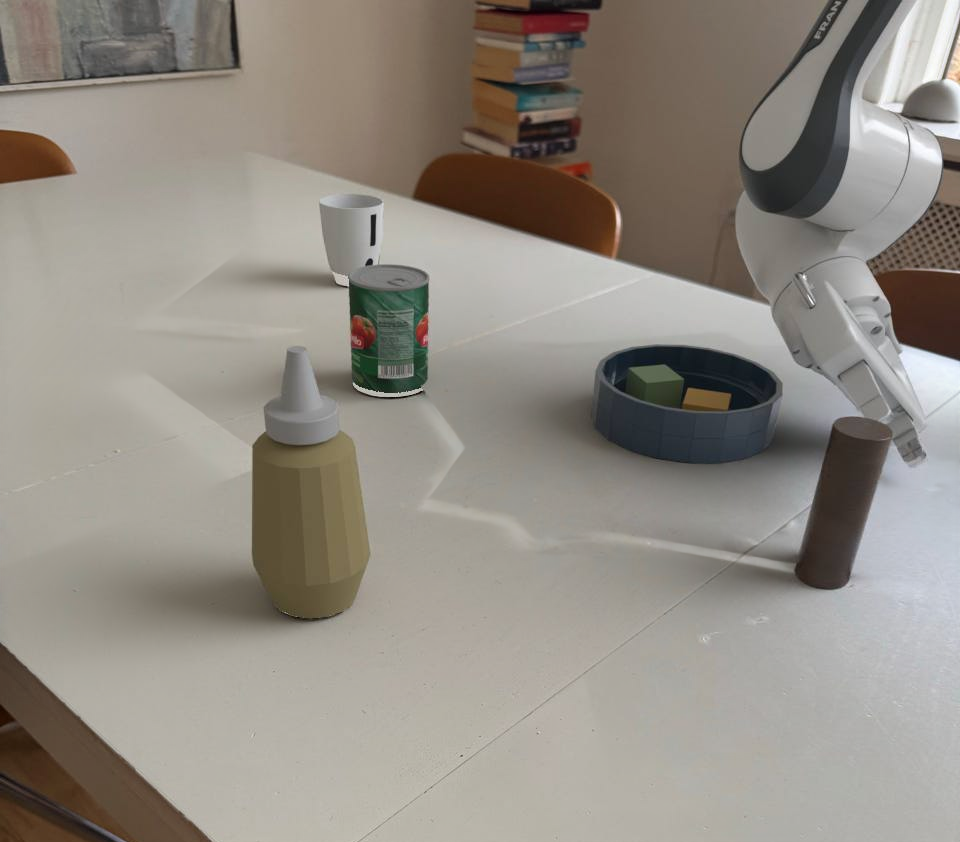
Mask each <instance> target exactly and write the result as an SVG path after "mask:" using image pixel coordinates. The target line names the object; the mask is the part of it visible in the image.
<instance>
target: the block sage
mask: <svg viewBox="0 0 960 842" xmlns="http://www.w3.org/2000/svg"><path fill="white" fill-rule="evenodd" d="M683 384H684V379H683V378H682V377H681V376H679V375H678V374H677V373H675V372H674V371H673V370H672V369H670V368H669V367H668V366H666V365H654V366H643V367H632V368H628V374H627V382H626V390H625V394H628V395H630V396H632V397H634V398H637V399H639V400H642V401H646V402H649V403H653V404H657V405H661V406H664V407H670V408H677V409H680V403H681V397H682V391H683Z"/></svg>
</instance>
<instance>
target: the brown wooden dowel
mask: <svg viewBox="0 0 960 842" xmlns="http://www.w3.org/2000/svg"><path fill="white" fill-rule="evenodd" d="M892 436H893V431H892V430H891V428H890V427H888V426H887V425H885V424H883V423H881V422H879V421H876V420H873V419H869V418H865V417H864V416H863V417H862V416H843V417H839V418H837V419H835V420H834V421H833V423H832V426H831V430H830V434H829V437H828V438H829V439H828V442H827V445H826V449H825V452H824V456H823V460H822V464H821V468H820V472H819V476H818V479H817V482H816V483H817V484H816V487H815V491H814V494H813V499H812V502H811V506H810V510H809V513H808V517H807V521H806V525H805V529H804V532H803V536H802V540H801V543H800V548H799V551H798V555H797V558H796V563H795V566H794V574H795V576H796V577H797V578H798V579H800V581H802V582H803V583H805V584H807V585H809V586H812V587H815V588H817V589H823V590H836V589H841V588H843V587H845V586H847V584H848V583H849V582H850V578H851V575H852V572H853V567H854V565H855V561H856V558H857V555H858V551H859V548H860V545H861V541H862V538H863V536H864V531H865V530H866V529H865V528H866V525H867V522H868V518H869V515H870V511H871V509H872V505H873V502H874V500H875V499H874V498H875V496H876V493H877V489H878V487H879V486H878V485H879V482H880V479H881V476H882V472H883V470H884V466H885V462H886V459H887V456H888V452H889V449H890V447H891V445H890V443H891V440H892Z"/></svg>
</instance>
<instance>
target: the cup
mask: <svg viewBox="0 0 960 842" xmlns="http://www.w3.org/2000/svg"><path fill="white" fill-rule="evenodd" d="M318 205H319V216H320V225H321V232H322V233H321V234H322V239H323V245H324V248H325V253H326V257H327V263H328V265H329V268H330V271H331V270H332V271H333V272H335V273H337V274H341V275H345V276H348V274H349V273H350V272H351V271H352V270H354V269H357V268H360V267H364V266H370V265H380V259H381V251H382V244H383V237H384V210H385V200H384V199H383V198H381V197H378V196H375V195H370V194H362V193H337V194H336V193H335V194H329V195H326V196H323V197H320V198H319V199H318Z"/></svg>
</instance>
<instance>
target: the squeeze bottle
mask: <svg viewBox="0 0 960 842" xmlns="http://www.w3.org/2000/svg"><path fill="white" fill-rule="evenodd" d="M281 383H282V384H281V390H280V395H278V396H275V397H273V398H272V399H269V400H268V401H267V402H266V404H265V405H264V406H263V416H264V427H265V431H264V432H263V433H261V434H260V435H259V436H258V437H257V438H256V440H255V441H254V443H253V444H251V445H252V449H251V450H252V451H251V452H252V453H251V458H252V459H251V460H252V461H251V465H252V466H251V468H252V469H251V558H252V565H253V568H254V570H255V572H256V573H257V576H258V577H259V579H260V581H261V583H262V586H263V587H264V589H265V591H266V593H267V595H268V597H269V598H270V600H271V603H272V604H273V605H274V604H275V605H276V606H277V607H278V608H279V609H280V610H281V611H283V612H286V613H288V614H290V615H293V616H297V617H304V618H310V619H309V620H312V619H311V618H319V617H328V618H330V617H329V616H330V615H331V617H333V616H336V615H337V614H336V613H339V614H341V613H340V612H342V611H343V612H345V611H346V610H347V609H349V608H350V607H351V606H352V605H353V604H354V602H355V600H354V599H356V598H357V594H358V592H359V588H360V586H361V583H362V580H363V577H364V575H365V572H366V568H367V565H368V562H369V560H370V557H371V549H370V540H369V534H368V527H367V521H366V513H365V505H364V501H363V492H362V485H361V479H360V478H361V477H360V473H359V464H358V458H357V449H356V446H355V442H354V440H353V437H351V436H350V435H348V434H347V433H346V432H344V431H343V430H341V428H340V427H341V426H340V425H341V424H340V408H339V405H338V403H337V401H335V399H332V398H331V397H329V396H326V395H323V394H320V391H319V387H318V384H317V380H316V377H315V373H314V369H313V366H312V362H311V359H310V355H309V352H308V349H307V347H306V346H304V345H303V346H302V345H292V346H289V347H288V348H287V349H286V356H285V362H284V369H283V376H282V382H281ZM275 605H274V606H275ZM276 606H275V607H276ZM349 606H350V607H349ZM277 607H276V608H277ZM348 607H349V608H348ZM278 608H277V609H278ZM346 608H347V609H346ZM279 609H278V610H279ZM280 610H279V611H280ZM344 610H345V611H344ZM281 611H280V612H281ZM343 612H342V613H343ZM335 614H336V615H335ZM332 615H333V616H332ZM319 619H320V618H319Z"/></svg>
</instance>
